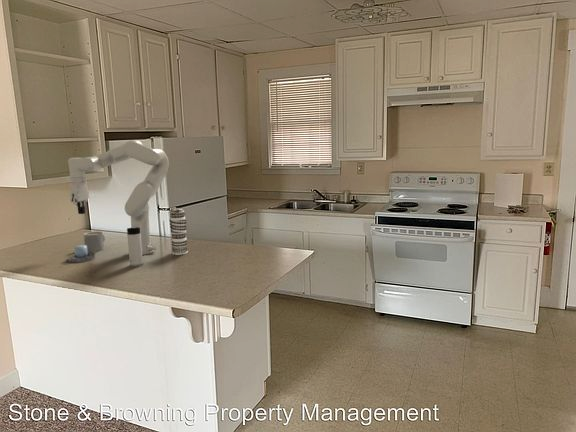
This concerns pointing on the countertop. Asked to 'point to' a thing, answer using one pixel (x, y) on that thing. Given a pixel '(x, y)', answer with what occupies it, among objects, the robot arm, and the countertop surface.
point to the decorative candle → (178, 231)
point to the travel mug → (135, 247)
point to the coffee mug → (94, 241)
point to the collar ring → (81, 258)
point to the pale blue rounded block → (81, 251)
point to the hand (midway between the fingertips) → (81, 213)
